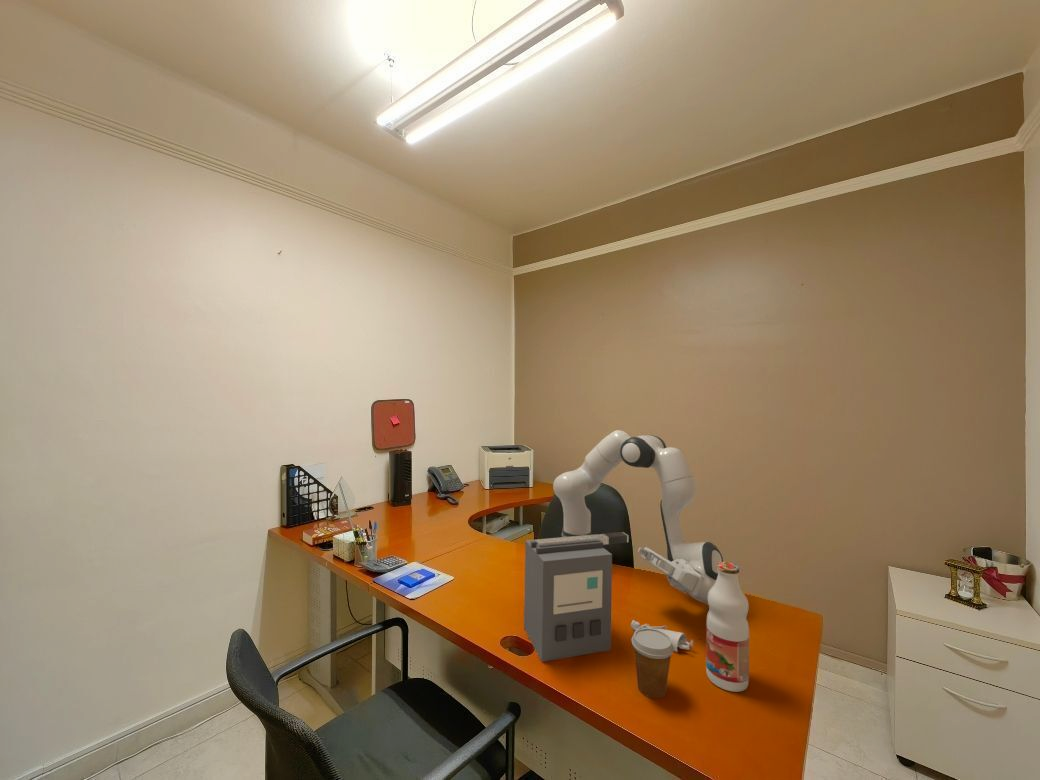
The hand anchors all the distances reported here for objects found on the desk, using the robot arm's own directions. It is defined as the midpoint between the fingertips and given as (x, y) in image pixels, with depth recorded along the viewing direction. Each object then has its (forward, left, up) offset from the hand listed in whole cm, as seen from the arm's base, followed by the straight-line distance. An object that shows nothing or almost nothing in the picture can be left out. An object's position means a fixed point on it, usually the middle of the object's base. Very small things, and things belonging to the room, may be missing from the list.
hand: (648, 556), depth 125 cm
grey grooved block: (0, -27, -21) cm, 34 cm away
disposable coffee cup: (+24, -15, -21) cm, 35 cm away
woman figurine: (+7, -1, -21) cm, 23 cm away
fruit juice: (+26, +5, -21) cm, 34 cm away
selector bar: (0, -22, +5) cm, 23 cm away
